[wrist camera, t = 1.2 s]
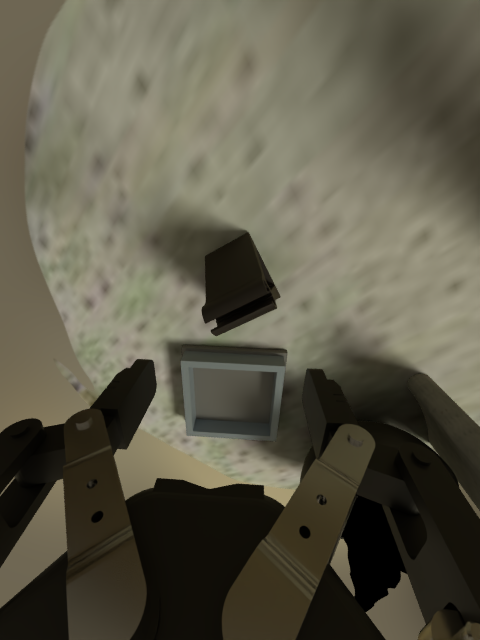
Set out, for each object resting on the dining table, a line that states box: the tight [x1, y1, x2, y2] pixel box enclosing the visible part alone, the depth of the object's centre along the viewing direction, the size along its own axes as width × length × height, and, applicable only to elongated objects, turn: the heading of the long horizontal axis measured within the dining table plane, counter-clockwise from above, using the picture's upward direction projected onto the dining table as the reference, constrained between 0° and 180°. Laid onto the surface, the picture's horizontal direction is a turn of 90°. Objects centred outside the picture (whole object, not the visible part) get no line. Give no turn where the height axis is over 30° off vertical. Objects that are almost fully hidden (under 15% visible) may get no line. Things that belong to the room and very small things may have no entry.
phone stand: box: [202, 232, 280, 336], centre depth 27 cm, size 9×6×12 cm, turn 28°
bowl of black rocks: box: [300, 421, 459, 612], centre depth 34 cm, size 20×20×19 cm
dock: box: [181, 345, 287, 441], centre depth 38 cm, size 15×15×3 cm
